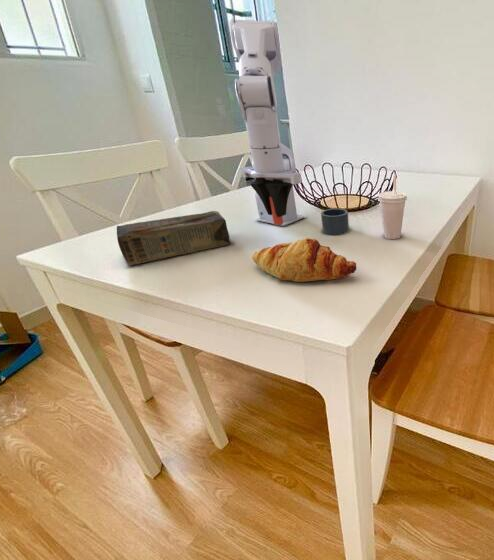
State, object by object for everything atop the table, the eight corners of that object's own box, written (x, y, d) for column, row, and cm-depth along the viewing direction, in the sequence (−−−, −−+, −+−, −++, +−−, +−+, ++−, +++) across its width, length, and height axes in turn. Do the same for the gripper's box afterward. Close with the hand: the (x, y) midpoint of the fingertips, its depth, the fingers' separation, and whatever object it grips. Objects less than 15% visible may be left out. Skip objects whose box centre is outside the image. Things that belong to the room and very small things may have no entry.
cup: (317, 232, 82) (315, 214, 80) (333, 224, 87) (331, 207, 84) (338, 236, 79) (337, 217, 77) (353, 228, 84) (352, 210, 82)
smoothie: (403, 242, 76) (404, 178, 70) (375, 240, 77) (373, 176, 71) (408, 232, 82) (409, 172, 75) (382, 230, 83) (381, 170, 76)
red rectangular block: (271, 224, 74) (266, 196, 71) (278, 221, 75) (274, 194, 72) (278, 225, 73) (274, 197, 70) (285, 223, 74) (281, 195, 72)
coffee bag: (233, 245, 75) (225, 216, 72) (126, 268, 65) (113, 236, 62) (224, 234, 80) (217, 207, 77) (125, 255, 70) (112, 224, 67)
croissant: (249, 287, 65) (226, 262, 59) (271, 247, 70) (252, 219, 64) (353, 301, 60) (340, 275, 53) (368, 256, 65) (359, 227, 59)
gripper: (222, 147, 66) (238, 214, 73) (278, 152, 61) (289, 225, 67) (251, 143, 72) (263, 206, 78) (305, 147, 66) (313, 215, 72)
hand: (277, 214), depth 73 cm, fingers closed on red rectangular block, 2 cm apart
